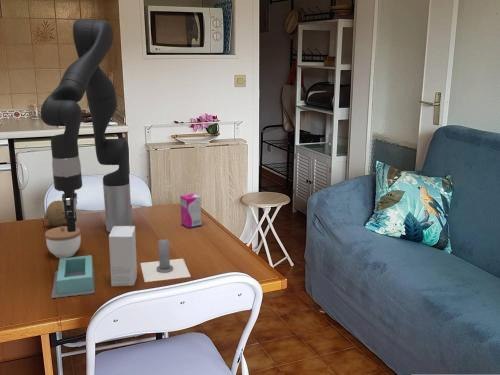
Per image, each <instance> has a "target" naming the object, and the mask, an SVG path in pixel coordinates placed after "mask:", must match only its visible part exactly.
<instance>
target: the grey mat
mask: <svg viewBox="0 0 500 375" xmlns="http://www.w3.org/2000/svg"><path fill="white" fill-rule="evenodd" d="M54 271H55V272H54V278H53V285H52V292H51V299H50V300H53V299H52V298H56V299H62V298H61V297H64V298H69V297H68V296H73V297H79V296H78V295H81V296H89V295H95V290H96V289H95V287H96V286H95V266H93V291H84V292H76V293H68V294H59V295H58V290H57V275H58V270H54ZM80 275H85V271H80V272H70V273H67V277H71V276H80ZM59 297H60V298H59Z"/></svg>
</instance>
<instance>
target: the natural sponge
mask: <svg viewBox="0 0 500 375" xmlns="http://www.w3.org/2000/svg"><path fill="white" fill-rule="evenodd" d="M67 215H68V213H67ZM44 220H45V222H46V223H48V224H50V225H52V226H55V227H56V228H57V227H61V226H64V225H65V223H66V224H67V221H66V220H65V212H64V210H63V202H62V200H59V199H58V200H54V201H52V202H51V203H50V204H48V206H47V208H46V210H45V213H44Z"/></svg>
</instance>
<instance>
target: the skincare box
mask: <svg viewBox="0 0 500 375" xmlns="http://www.w3.org/2000/svg"><path fill="white" fill-rule="evenodd" d="M136 242H137V241H136V226H135V225H132V226H113V228H112V230H111V232H109V235H108V245H109V264H110V266H109V268H110V284H111V287H123V286H124V287H127V286H129V287H131V286H135V283H136V280H137V277H138V267H137V265H138V264H137V243H136Z"/></svg>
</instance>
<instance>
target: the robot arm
mask: <svg viewBox="0 0 500 375" xmlns="http://www.w3.org/2000/svg"><path fill="white" fill-rule="evenodd" d="M72 39H73V43H74V47H75V50H76V53H77V59H76V60H75V61H74V62H72V63H71V64H70V65H69V66H68V67H67V68H66V70H65V71H64V73H63V76H62V77H61V79H60V82H59V83H58V85H57V87H56V88H55V89H54V90H53V91H52V92H51V93H50V94H49V95H48V96H47V97H46V99H45V100H44V101H43V103H42V105H41V108H40V118H41V121H42V122H43V123H44V124H45V125H47V126H50V127H64V131H63V133H59V134H55V135H53V136H52V137H51V138H50V148H51V161H52V163H51V166H52V176H53V177H52V178H53V186H54V190H56V191H57V192H63V193H62V194H61V195H62V196H61V201H62V202H63V210H64V212H65V220H66V221H67V222H66V226H67V231H68V232H75V231H76V227H77V226H76V222H77V205H78V193H77V192H76V191H77V190H80V189H81V188H82V187H83V177H82V166H81V164H82V163H81V159H80V154H79V144H78V143H79V142H78V141H79V136H80V135H79V134H80V129H81V128H80V127H81V123H82V116H83V111H82V108H81V106H80V104H79V102H80V101H82V99H83V97H84V96H86V100H87V105H88V110H89V115H90V118H91V124H92V130H93V137H94V147H95V149H94V150H95V155H96V159H97V162H98V163H99V164H100V165H101V166H118V168H117V169H116V170H115V171H113V172H110V173H107V174H105V175H103V176H102V186H103V187H102V188H103V200H104V215H105V226H106V227H105V229H106V232H108V233H111V230H112V228H113V226H133V219H132V218H133V216H132V213H133V212H132V200H131V198H132V197H131V183H130V150H129V148H130V147H129V143H128V141H127V139H125V138H106V131H107V128H108V125H109V124H110V121H112V118H113V117H114V115H115V113H116V111H117V108H118V100H117V94H116V88H115V86H114V84H113V81H112V80H111V79H110V78H109V77H108V75H107V74H106V73H105V72H104V70H103V69H102V68H101V67H100V65H101V63H102V61H103V60H104V59H105V58H106V56H107V55H108V53H109V51H110V49H111V47H112V45H113V42H114V29H113V27H112V25H111V23H110V22H109V21H107V20H104V19H89V18H78V19H76V20H75V21H74V22H73V26H72ZM67 213H68V215H67Z"/></svg>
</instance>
